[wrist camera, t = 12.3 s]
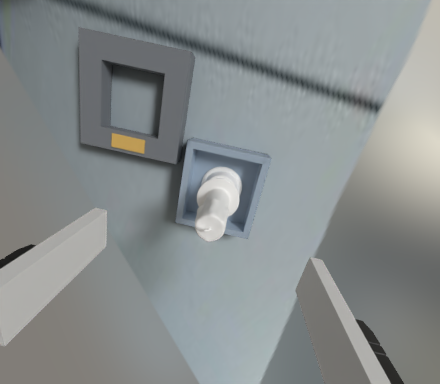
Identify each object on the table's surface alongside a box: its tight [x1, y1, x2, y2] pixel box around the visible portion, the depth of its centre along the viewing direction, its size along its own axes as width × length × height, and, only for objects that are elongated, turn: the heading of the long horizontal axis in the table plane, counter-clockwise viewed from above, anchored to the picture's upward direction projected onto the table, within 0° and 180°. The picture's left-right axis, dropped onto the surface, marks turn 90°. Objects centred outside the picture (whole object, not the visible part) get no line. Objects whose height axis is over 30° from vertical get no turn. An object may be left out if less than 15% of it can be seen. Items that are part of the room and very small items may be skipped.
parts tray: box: [175, 138, 271, 239], centre depth 27 cm, size 11×10×3 cm
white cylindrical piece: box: [195, 167, 242, 242], centre depth 22 cm, size 5×5×12 cm
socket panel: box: [79, 27, 195, 164], centre depth 25 cm, size 12×12×2 cm
